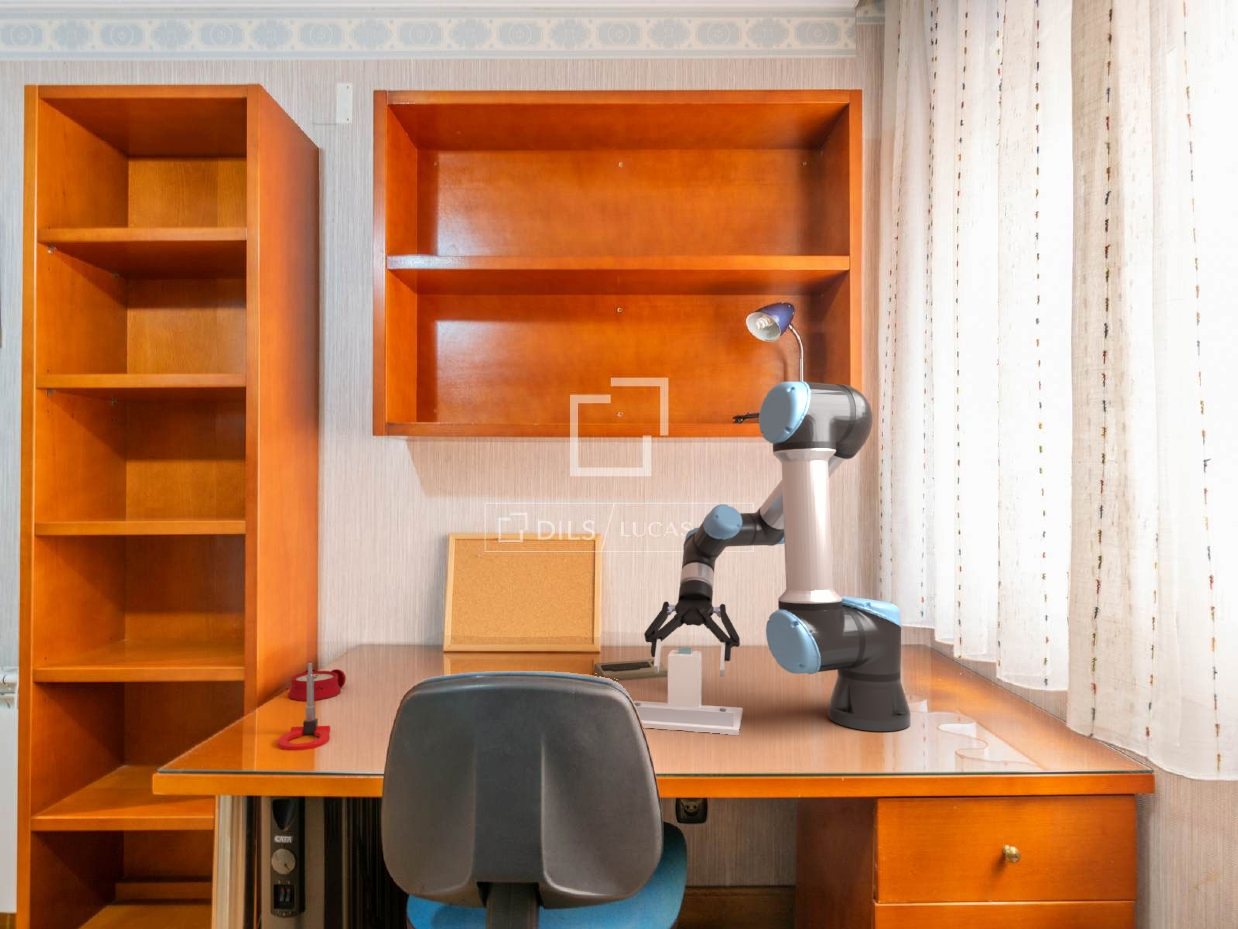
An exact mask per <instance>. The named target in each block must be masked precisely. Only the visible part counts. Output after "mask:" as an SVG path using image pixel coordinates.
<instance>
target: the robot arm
mask: <svg viewBox="0 0 1238 929" xmlns="http://www.w3.org/2000/svg"><path fill="white" fill-rule="evenodd" d="M758 425H759V431H760V433H761V435H762V438H763V439H764V440H766V442H768V443H770V444H772V455H773V456H774V457H775V458H776V459H777V460H778V461H780V464H781V480H780V481H779V483H778V484H777V486H775V488H774V489H773V491H772V492H771V493H770V494H769V496H768V497H767V499H765V501H764V502H763V503H762V504H761V506H760V507H759V508H758V509H757V511H755V512H749V513H748V512H747V513H746V512H739V510H738V509H736V508H735V507H734V506H730V505H728V504H726V503H725V504H723V503H721V504H718V505H716V506H714V507H713V508H712V509H711V510H710V512H708V513H707V514H706V515H705V517H704V519H703V521H702V522H701V524H700V525H699V526H698V527H694V528H693V529H690V530H689V531H687V532H686V535H685V539H684V542H683V547H682V548H683V554H682V560H681V562H682V563H681V571H680V582H679V589H678V590H679V591H678V599H677V603H676V604H670V603H669V602H668V601H664V602H663V603H662V607H661V610H660V611H659V612H658V614H657V615H656V616H655V618H654V620H652V622H651V624H650V625H649V626H648V627H647V629H646V630H645V632H644V640H645V642H646V643H650V644H651V645H650V646H651V647H650V655H651V657H652V658H654V659H655V660H654V670H655V673H659V665H660V662H661V656H662V648H663V647H662V645H663V644H662V642H664V640H665V639H666V638H668V637H669V636H670V635H671V634H672V633H673V632H675V631H676V630H677V629H678V628H680V627H682V626H683V625H684V624H685V625H686V626H697V627H699V626H701V625H704V627H705V628H706V629H707V630H709V631H710V632H711V633H712V634H713V635H714V636H715V638H716V639H717V640H718V641H719V643H721V644H720V659H719V660H720V661H719V676H720V677H721V678H724V677H725V668H726V667H725V664H726V662H730V661H731V659H732V658H731V657H732V656H731V655H732V654H731V653H732V648H733V647H736V648H739V647H740V645H741V641H740V639H741V638H740V635H739V634H738V632H737V630H736V628H735V626H734V625H733V623H732V621H731V619H730V617H729V615H728V614H727V609H726V604H724V603H721V604H720V605H719V606H713V598H714V597H713V595H714V581H715V579H714V578H715V566H716V561H717V559H718V557H720V555H721V554H722V553H723V551H724V550H725V549H726V548H729V547H751V546H754V547H755V546H768V547H769V546H770V547H772V546H778V545H783V544H784V545H783V546H784V564H785V565H784V570H785V590H784V592H783V593H781V595H780V596H779V597H778V598H777V603H778V605H777V606H778V609H777V610H775V611H774V612H772V613H771V614H770V615H769V616H768V620H767V621H766V626H765V636H766V637H765V638H766V641H767V642H766V643H767V646H768V647H769V650H770V653H771V655H772V657H773V658H774V659H775V661H776V662H777V664H778V665H779V666H780V667H781V668H782V669H783V670H784V671H786V672H788V673H790V674H797V675H801V674H807V675H814V674H817V673H821V672H831V671H837V677H836V680H835V683H834V686H833V689H832V693H831V695H830V699H829V702H828V706H827V716H828V718H829V719H830V720H831V721H832V722H833V723H835V724H838V725H840V726H842V727H843V726H844V727H847V728H850V729H856V730H861V731H862V730H863V731H867V732H868V731H869V732H870V731H871V732H893V731H894V732H895V731H901V730H905V729H907V728H908V727H910V726H911V724H912V723H911V722H912V720H911V719H912V718H911V716H912V714H911V709H910V706H909V704H908V699H907V696H906V694H905V690H904V688H903V684H902V681H901V680H902V678H901V677H902V676H901V675H902V672H901V670H902V668H901V667H902V666H901V665H902V663H901V662H902V628H903V626H902V624H901V612H900V609H899V607H898V606H897V605H896V604H893V603H891V602H888V601H887V602H886V601H882V600H875V599H870V598H861V597H853V596H840V595H839V594H838V593H837V592H836V591H835V589H834V578H833V576H834V574H833V557H832V556H833V555H832V554H833V553H832V552H833V551H832V531H831V530H832V529H831V528H832V527H831V526H832V525H831V524H832V523H831V522H832V521H831V501H830V499H831V498H830V482H829V481H830V477H832V475H833V474H834V473H835V472H836V470H838V468H839V467H840V466H841V465H842V463H844V462H845V460H851V459H853V458H855V456H856V455H857V454H858V453H859V452H860V450H861V449H862V448H863V446H864V445H865V444H866V442H867V440H868V439H869V436H870V433H871V431H872V427H873V411H872V407H871V404H870V403H869V401H868V398H866V396H864V394H863V393H862V392H860V391H859V390H858V389H857V388H854V387H853V386H851V385H847V384H841V383H840V384H838V383H836V384H833V383H824V382H823V383H822V382H814V381H813V382H812V381H803V380H799V381H782V382H780V383H777V384H775V385H774V386H773V387H772V388H771V389H769V391H768V392H767V394H766V396H765V397H764V399H763V401H762V403H761V406H760V410H759V414H758ZM673 612H675V615H674V616H673V617H672V618H671V619H670V620H669V621H668V622H666V621H667V619H668V617H669V616H671V615H672V613H673ZM714 614H716V616H717V617H718V618H720V620H721V623H722V625H723V627H724V629H725V631H726V632H725V631H723V629H722V628H721V627H720V626H719V625H718V624H717V623H716V622H715V620H714V619H713V618H712V616H713V615H714ZM665 622H666V624H665ZM726 633H727V634H726Z"/></svg>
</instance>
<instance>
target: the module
mask: <svg viewBox="0 0 1238 929" xmlns="http://www.w3.org/2000/svg"><path fill="white" fill-rule="evenodd" d="M702 652H703V651H702V650H692V647H682V646H680V647H678V649H671V650H670V652H668V655H667V703H668V706H682V707H697V708H701V705H702V689H703V687H702V682H703V681H702V674H703V672H702V670H703V669H702V666H703V664H702V663H703V661H702V660H703V659H702V657H703V656H702V654H703V653H702Z"/></svg>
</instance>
